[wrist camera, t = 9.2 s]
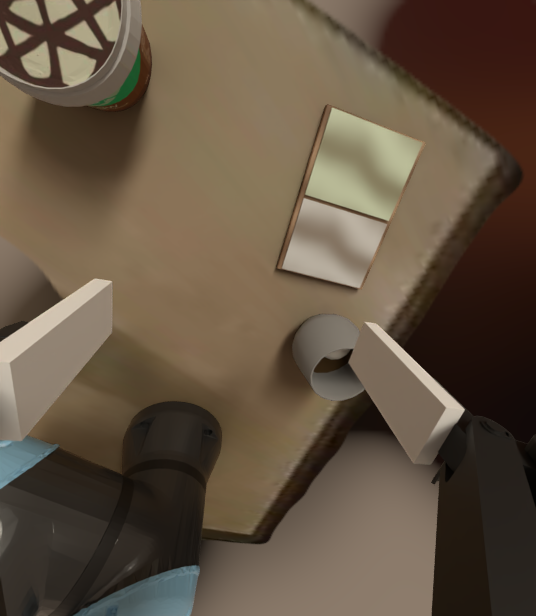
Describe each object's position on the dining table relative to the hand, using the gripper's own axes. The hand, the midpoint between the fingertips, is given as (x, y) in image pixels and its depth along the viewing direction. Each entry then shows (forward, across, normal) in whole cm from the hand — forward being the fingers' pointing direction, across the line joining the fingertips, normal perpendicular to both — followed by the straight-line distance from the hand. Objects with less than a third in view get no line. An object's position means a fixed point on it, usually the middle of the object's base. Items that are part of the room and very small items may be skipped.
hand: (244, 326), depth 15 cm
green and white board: (+22, -12, -7) cm, 26 cm away
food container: (+22, +15, -12) cm, 29 cm away
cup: (+22, -14, +10) cm, 28 cm away
